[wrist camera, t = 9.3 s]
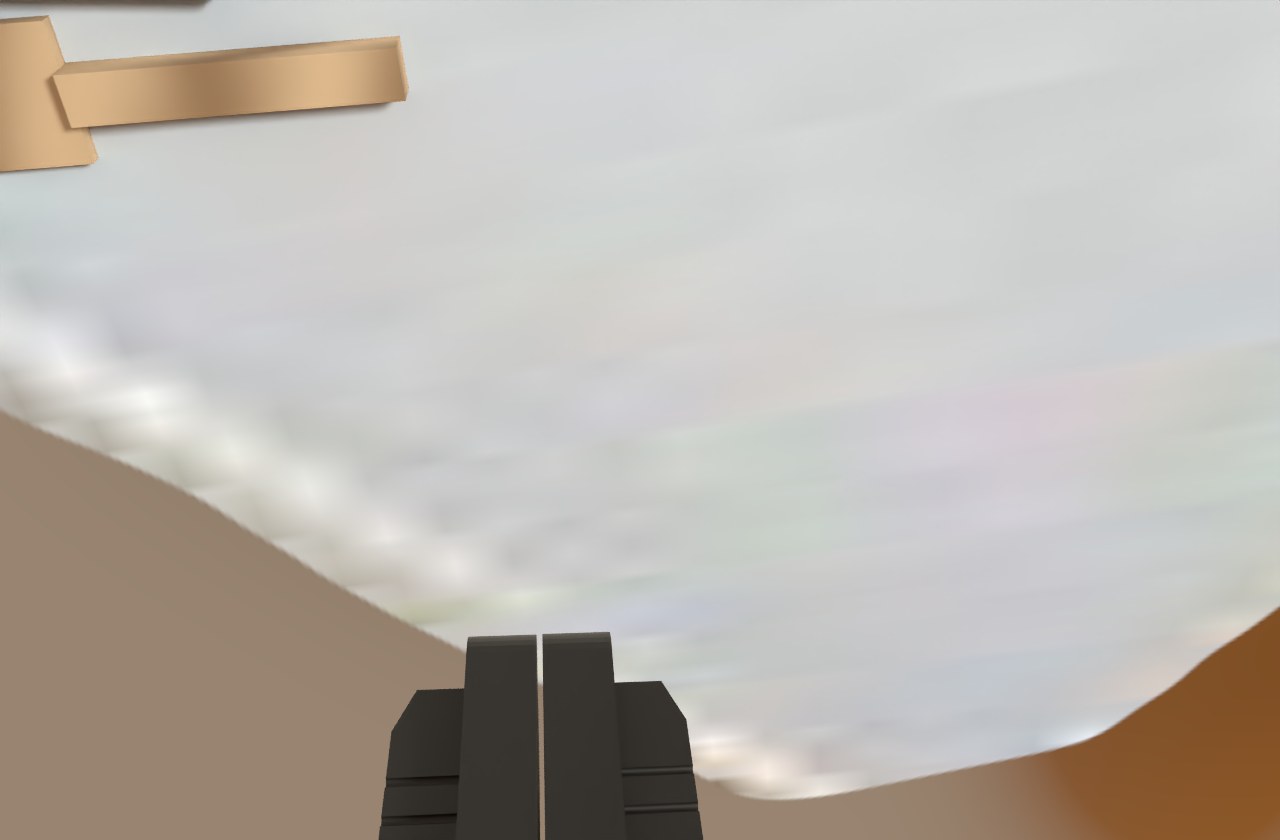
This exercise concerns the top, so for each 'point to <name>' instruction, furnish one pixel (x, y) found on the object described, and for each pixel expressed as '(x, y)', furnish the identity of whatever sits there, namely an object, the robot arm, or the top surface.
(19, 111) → the turner
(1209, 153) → the top surface
